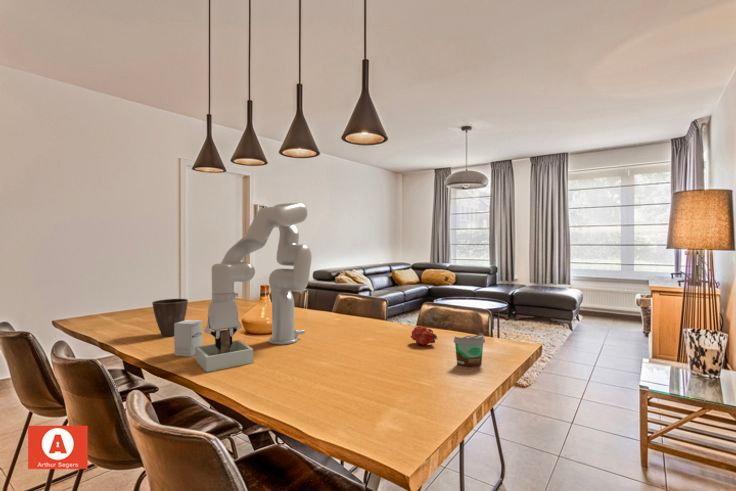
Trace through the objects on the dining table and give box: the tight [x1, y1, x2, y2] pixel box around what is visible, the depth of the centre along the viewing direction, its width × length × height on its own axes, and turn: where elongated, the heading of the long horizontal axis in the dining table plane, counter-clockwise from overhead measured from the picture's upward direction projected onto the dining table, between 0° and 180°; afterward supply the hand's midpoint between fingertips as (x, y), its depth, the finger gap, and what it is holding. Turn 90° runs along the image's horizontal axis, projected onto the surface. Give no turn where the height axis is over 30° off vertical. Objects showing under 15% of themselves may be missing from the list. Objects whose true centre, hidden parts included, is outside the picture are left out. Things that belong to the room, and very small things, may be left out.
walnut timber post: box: [218, 329, 230, 354], centre depth 140 cm, size 3×4×9 cm
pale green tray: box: [194, 339, 254, 373], centre depth 140 cm, size 16×16×5 cm
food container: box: [453, 332, 486, 368], centre depth 133 cm, size 12×6×10 cm, turn 117°
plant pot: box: [151, 298, 189, 337], centre depth 180 cm, size 15×15×16 cm
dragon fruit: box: [410, 325, 438, 347], centre depth 160 cm, size 8×8×12 cm
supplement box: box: [173, 319, 203, 358], centre depth 150 cm, size 7×7×13 cm
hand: (223, 347), depth 140 cm, fingers closed on walnut timber post, 2 cm apart
